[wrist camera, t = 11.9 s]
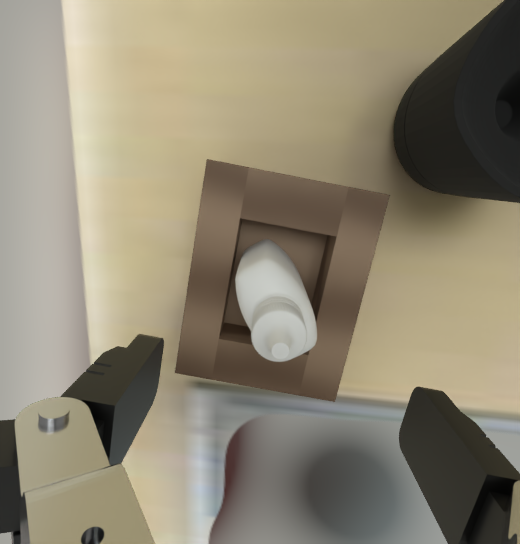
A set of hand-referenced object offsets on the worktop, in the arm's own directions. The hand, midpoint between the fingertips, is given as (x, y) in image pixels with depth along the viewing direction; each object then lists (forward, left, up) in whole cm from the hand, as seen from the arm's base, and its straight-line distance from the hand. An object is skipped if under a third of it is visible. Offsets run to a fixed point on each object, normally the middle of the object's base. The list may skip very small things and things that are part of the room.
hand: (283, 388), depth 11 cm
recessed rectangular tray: (0, 0, -16) cm, 16 cm away
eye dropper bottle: (0, 0, -15) cm, 15 cm away
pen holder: (-12, +10, -16) cm, 22 cm away
